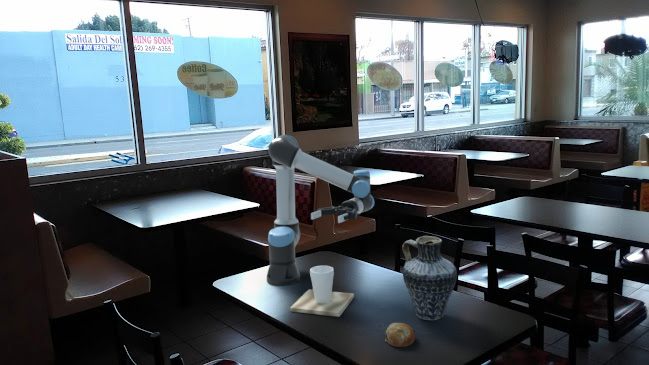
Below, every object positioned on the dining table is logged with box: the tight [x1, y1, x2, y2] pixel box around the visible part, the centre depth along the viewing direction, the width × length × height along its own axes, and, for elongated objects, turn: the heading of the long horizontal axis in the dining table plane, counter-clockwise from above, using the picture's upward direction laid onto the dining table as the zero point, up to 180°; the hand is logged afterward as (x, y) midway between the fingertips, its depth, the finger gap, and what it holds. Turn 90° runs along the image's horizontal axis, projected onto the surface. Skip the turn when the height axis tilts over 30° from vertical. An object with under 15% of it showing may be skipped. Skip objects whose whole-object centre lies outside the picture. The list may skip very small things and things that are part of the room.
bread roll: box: [384, 322, 416, 348], centre depth 179 cm, size 10×10×8 cm
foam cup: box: [309, 265, 335, 303], centre depth 211 cm, size 10×9×13 cm
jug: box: [401, 235, 458, 321], centre depth 195 cm, size 21×19×30 cm
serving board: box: [290, 288, 355, 318], centre depth 212 cm, size 20×20×2 cm
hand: (324, 218), depth 221 cm, fingers open, 13 cm apart
